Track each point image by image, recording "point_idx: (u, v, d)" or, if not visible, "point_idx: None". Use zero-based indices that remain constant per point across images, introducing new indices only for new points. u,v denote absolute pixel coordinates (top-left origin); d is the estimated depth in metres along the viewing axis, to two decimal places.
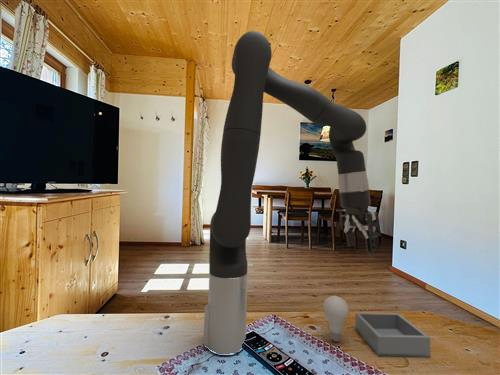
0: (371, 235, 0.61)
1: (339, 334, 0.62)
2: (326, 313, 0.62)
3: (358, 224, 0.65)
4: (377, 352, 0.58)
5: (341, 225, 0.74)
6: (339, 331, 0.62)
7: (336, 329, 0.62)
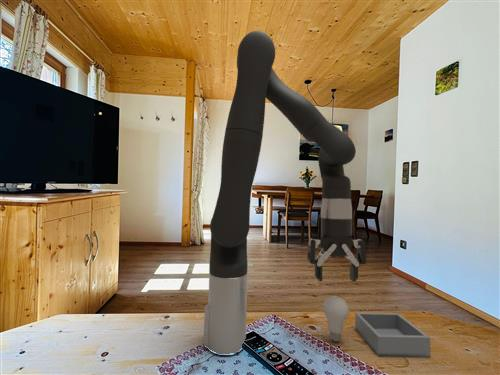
0: (364, 262, 0.63)
1: (339, 334, 0.62)
2: (326, 313, 0.62)
3: (349, 253, 0.62)
4: (377, 352, 0.58)
5: (312, 258, 0.62)
6: (339, 331, 0.62)
7: (336, 329, 0.62)
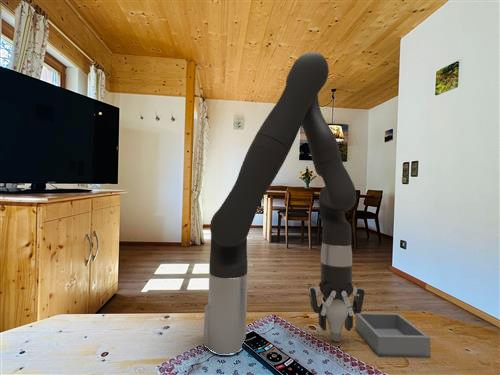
0: (359, 311, 0.62)
1: (339, 334, 0.62)
2: (326, 313, 0.62)
3: (347, 301, 0.62)
4: (377, 352, 0.58)
5: (315, 307, 0.62)
6: (339, 331, 0.62)
7: (336, 329, 0.62)
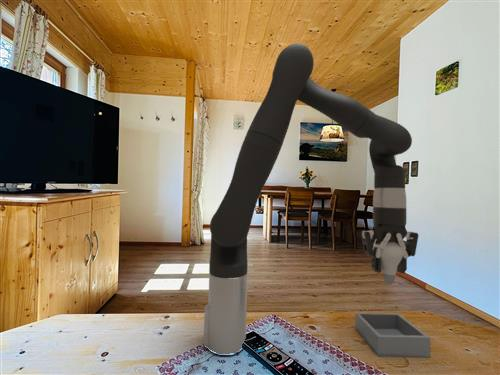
0: (413, 254, 0.63)
1: (394, 276, 0.63)
2: (381, 255, 0.63)
3: (402, 243, 0.63)
4: (377, 352, 0.58)
5: (370, 249, 0.63)
6: (394, 273, 0.62)
7: (391, 271, 0.62)
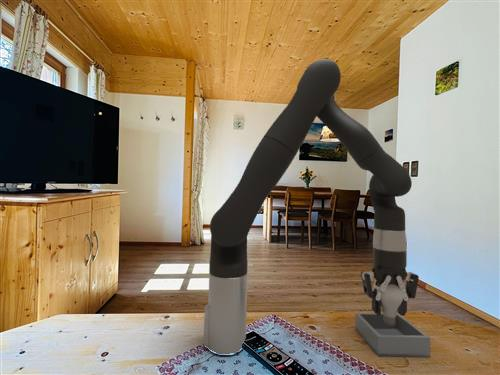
0: (414, 296, 0.63)
1: (394, 319, 0.62)
2: (381, 298, 0.62)
3: (402, 286, 0.62)
4: (377, 352, 0.58)
5: (370, 292, 0.62)
6: (394, 316, 0.62)
7: (391, 314, 0.62)
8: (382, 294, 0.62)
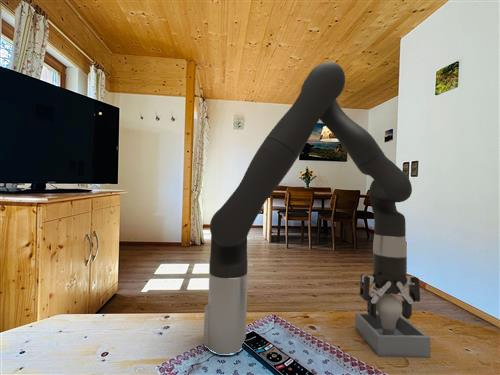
0: (418, 299, 0.63)
1: (393, 331, 0.63)
2: (380, 310, 0.63)
3: (404, 290, 0.62)
4: (377, 352, 0.58)
5: (366, 295, 0.62)
6: (393, 328, 0.62)
7: (390, 326, 0.62)
8: (381, 306, 0.63)
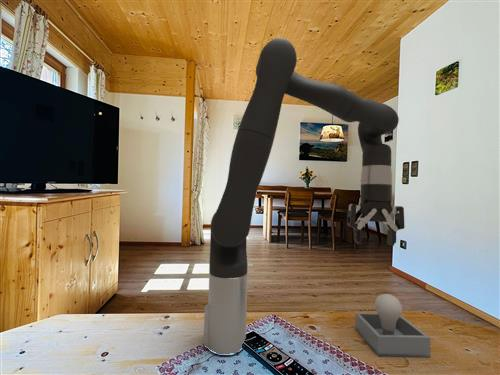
0: (403, 227, 0.66)
1: (393, 332, 0.62)
2: (380, 311, 0.63)
3: (389, 218, 0.65)
4: (377, 352, 0.58)
5: (353, 221, 0.66)
6: (393, 329, 0.62)
7: (390, 327, 0.62)
8: (381, 307, 0.62)
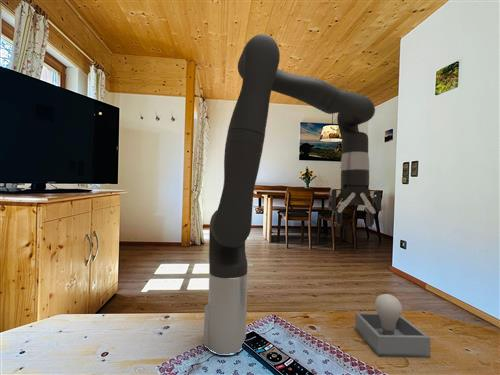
0: (380, 209, 0.70)
1: (393, 332, 0.62)
2: (380, 311, 0.63)
3: (367, 201, 0.70)
4: (377, 352, 0.58)
5: (333, 205, 0.70)
6: (393, 329, 0.62)
7: (390, 327, 0.62)
8: (381, 307, 0.62)
